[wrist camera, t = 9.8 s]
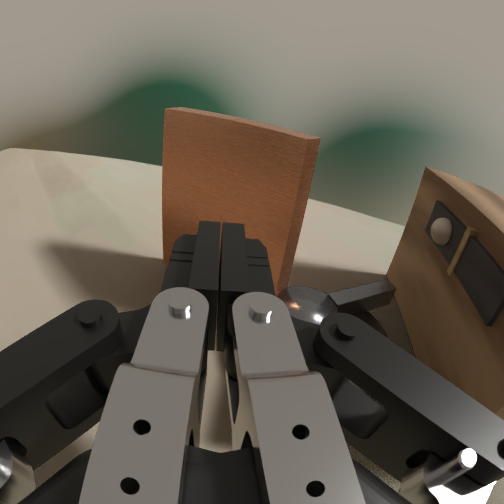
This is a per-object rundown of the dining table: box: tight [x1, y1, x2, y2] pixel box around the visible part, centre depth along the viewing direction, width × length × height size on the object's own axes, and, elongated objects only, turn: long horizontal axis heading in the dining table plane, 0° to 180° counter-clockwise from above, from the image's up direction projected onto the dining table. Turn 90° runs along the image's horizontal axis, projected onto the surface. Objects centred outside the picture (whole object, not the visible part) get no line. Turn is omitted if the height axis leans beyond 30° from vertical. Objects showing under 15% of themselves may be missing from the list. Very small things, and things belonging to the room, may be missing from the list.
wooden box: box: [386, 167, 504, 420], centre depth 18 cm, size 12×20×12 cm, turn 174°
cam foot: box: [162, 107, 397, 396], centre depth 18 cm, size 20×14×13 cm
